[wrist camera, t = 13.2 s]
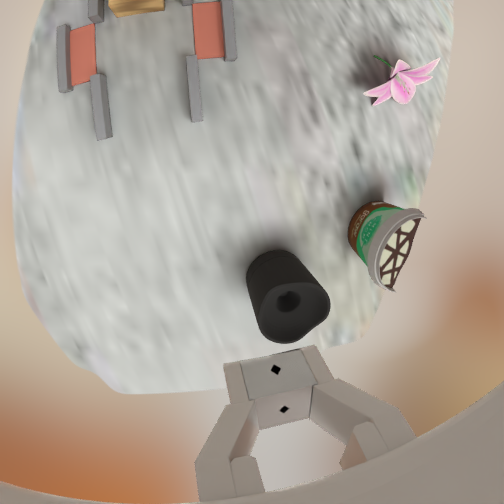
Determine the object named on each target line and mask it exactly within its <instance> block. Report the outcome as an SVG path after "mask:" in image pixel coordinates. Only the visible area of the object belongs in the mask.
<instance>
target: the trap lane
mask: <svg viewBox="0 0 504 504" xmlns="http://www.w3.org/2000/svg"><path fill="white" fill-rule="evenodd" d="M192 3H193V0H182V4H183V6H185V5H192V7H193V23H194V37H195V50H196V55H190V56H186V64H187V76H188V87H189V98H190V108H191V118H192V122H200V121H203V117H202V106H201V96H200V85H199V74H198V62H197V59H206V58H217V57H224V59H225V61H235V60H236V58H237V50H236V38H235V27H234V15H233V3H232V0H220V2H209V3H197V4H192ZM88 18H89V19H90V20H91V21H92V22H93V24H90V25H87V26H84V27H81V28H78V29H75V30H72V31H71V28H70V27H69V26H67V25H66V24H64V25H62V26H59V27H57V70H58V87H59V92H61V93H66V92H69V91H73V86H74V85H78V84H81V83H84V82H87V81H90V85H91V96H92V106H93V115H94V123H95V130H96V137H97V141H99V140H103V139H107V138H111V137H113V136H112V128H111V121H110V112H109V103H108V93H107V82H106V76H104V75H102V74H100V73H99V74H97V71H96V52H95V24H96V23H99V22H103V21H104V0H89V1H88Z"/></svg>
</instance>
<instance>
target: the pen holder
mask: <svg viewBox="0 0 504 504" xmlns="http://www.w3.org/2000/svg"><path fill="white" fill-rule="evenodd" d="M246 282H247V287H248V291H249V295H250V299H251V302H252V306H253V309H254V313H255V316H256V320H257V323H258V326H259V329H260V331H261V333H262V334H263V335H264V336H265V337H266V338H267V339H269V340H271V341H273V342H276V343H281V344H288V343H293V342H296V341H298V340H300V339H301V338H303V337H304V336H305V335H306V334H307V333H308V332H309V331H311V330H312V329H313V328H314V327H316V326H317V325H319V324H320V323H321V322H323V321H324V320H325V319H326V318H327V316H328V314H329V312H330V299H329V296H328V294H327V292H326V291H325V290H324V289H323V287H322V286H321V285H320V284H319V283H318V281H317V280H316V279H315V278H314V277H313V275H312V274H311V273H310V272H309V271H308V269H307V268H306V267H305V266H304V265H303V264H302V263H301V261H300V260H299V259H298V258H297V257H296V256H294V255H293V254H291V253H289V252H286V251H279V250H277V251H271V252H267V253H265V254H263V255H261V256H260V257H258V258H257V259H256V260H255V261H254V262H253V263H252V265H251V266H250V268H249V270H248V273H247V278H246Z"/></svg>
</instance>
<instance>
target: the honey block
mask: <svg viewBox="0 0 504 504" xmlns="http://www.w3.org/2000/svg"><path fill="white" fill-rule="evenodd" d="M108 6H109V7H110V9H111V10H112V11H113V13H114V14H115V15H116V17H117V18H118V17H123V16H129V15H134V14H141V13H148V12H155V11H164V7H165V0H109V4H108Z"/></svg>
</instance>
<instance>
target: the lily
mask: <svg viewBox="0 0 504 504" xmlns="http://www.w3.org/2000/svg"><path fill="white" fill-rule="evenodd" d="M374 57H375V58H377V59H379V60H381V61H383V62H384V63H386V64H387V65H388V66H389V67H390V68H391V69H392V70H391V73H390V76H389V79H388V81H387V83H385V84H383V85H381V86H378V87H376V88H373V89H371V90H369V91H366V92H365V93H363V94H364V95H366V96H371V97H378V99H377V100H376V101H375V102H374V104H373V105H372V106H375V105H378V104H380V103H382V102H384V101H386V100H388V99H389V98H391V97H393V98H394V100H395V101H397V102H398V103H400V104H407V103H408V102H409V101H410V100H411V99H412V98H413V96H414V94H415V91H416V85H419V84H422V83H424V82H426V81H428V80H430V79H432V78H433V77H432V76H429V75H427V74H429V73H430V72H431V71H432V70H433V69H434V68H435V67H436V66H437V64H438V63H439V61H440V58H438V59H436V60H434V61H432V62H430V63H428V64H426V65H424V66H422V67H419V68H416V69H413V70H408V69H411V67H410V66H409V65H408V64H407V63H405V62H404V61H403V60H398V61H397V64H396V66H395V68H393V67H392V66H391V65H390V64H388V63H387V62H386V61H384V60H383V59H381V58H379V57H377V56H375V55H374Z"/></svg>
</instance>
